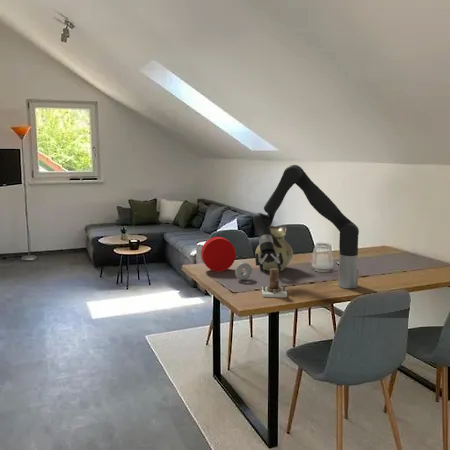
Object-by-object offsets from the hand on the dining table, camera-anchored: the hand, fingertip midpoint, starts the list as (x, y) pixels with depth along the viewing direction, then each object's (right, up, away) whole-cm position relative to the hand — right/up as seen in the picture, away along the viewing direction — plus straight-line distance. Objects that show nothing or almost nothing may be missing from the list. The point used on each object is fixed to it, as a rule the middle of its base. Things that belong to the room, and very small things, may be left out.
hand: (270, 271), depth 241 cm
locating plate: (+1, -10, -6) cm, 12 cm away
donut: (-13, -7, +19) cm, 24 cm away
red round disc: (-28, -4, +40) cm, 49 cm away
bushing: (+1, -9, -6) cm, 11 cm away
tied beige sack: (+6, -3, +41) cm, 42 cm away
